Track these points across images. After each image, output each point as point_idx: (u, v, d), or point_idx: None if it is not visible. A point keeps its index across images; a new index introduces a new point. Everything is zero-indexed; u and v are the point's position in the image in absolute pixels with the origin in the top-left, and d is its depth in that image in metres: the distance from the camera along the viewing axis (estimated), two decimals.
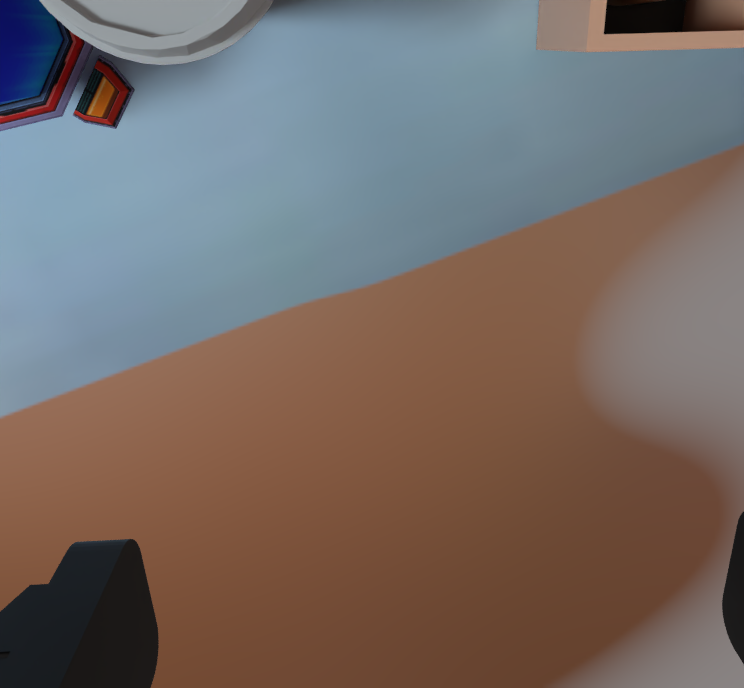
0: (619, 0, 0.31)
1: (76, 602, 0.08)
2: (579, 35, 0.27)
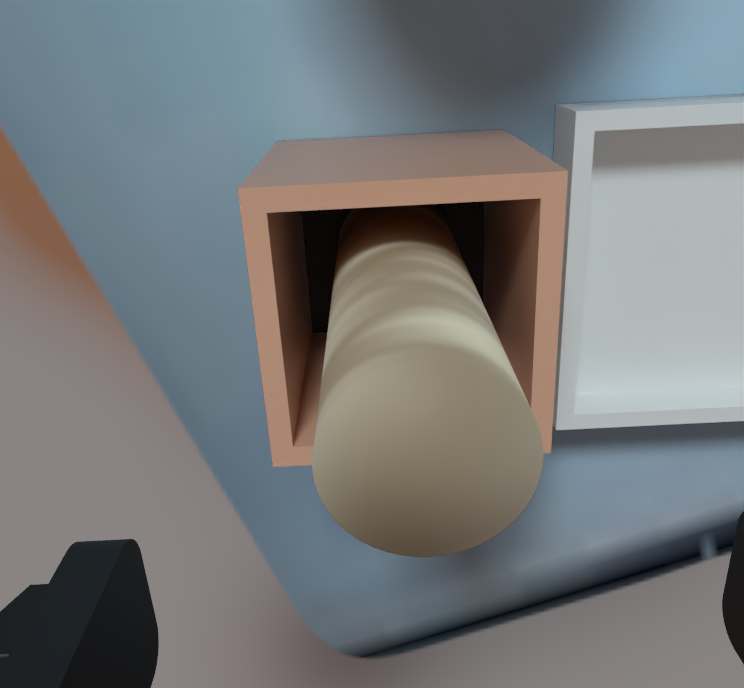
0: (339, 244, 0.22)
1: (76, 602, 0.08)
2: (268, 178, 0.17)
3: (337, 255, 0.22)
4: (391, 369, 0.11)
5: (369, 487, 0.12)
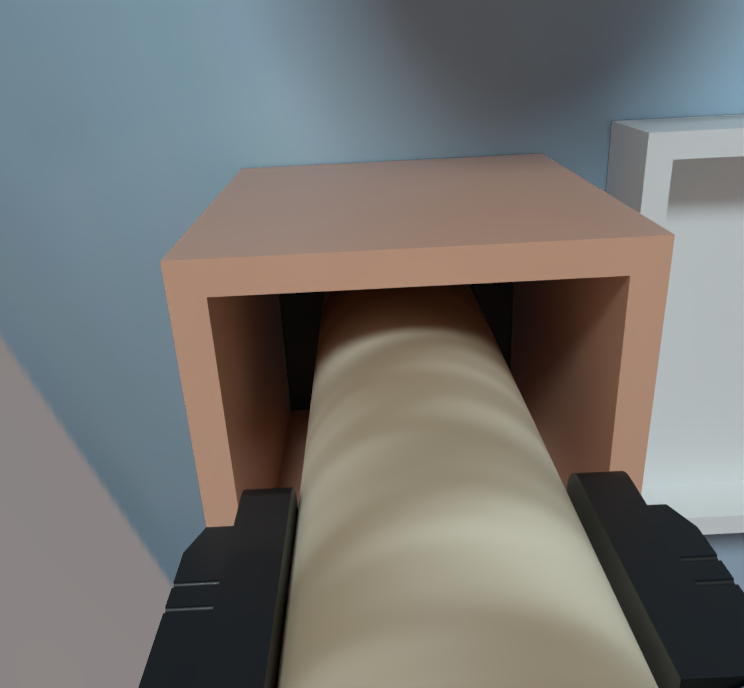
0: (323, 309, 0.17)
1: (265, 536, 0.09)
2: (213, 240, 0.11)
3: (320, 326, 0.16)
4: None
5: None
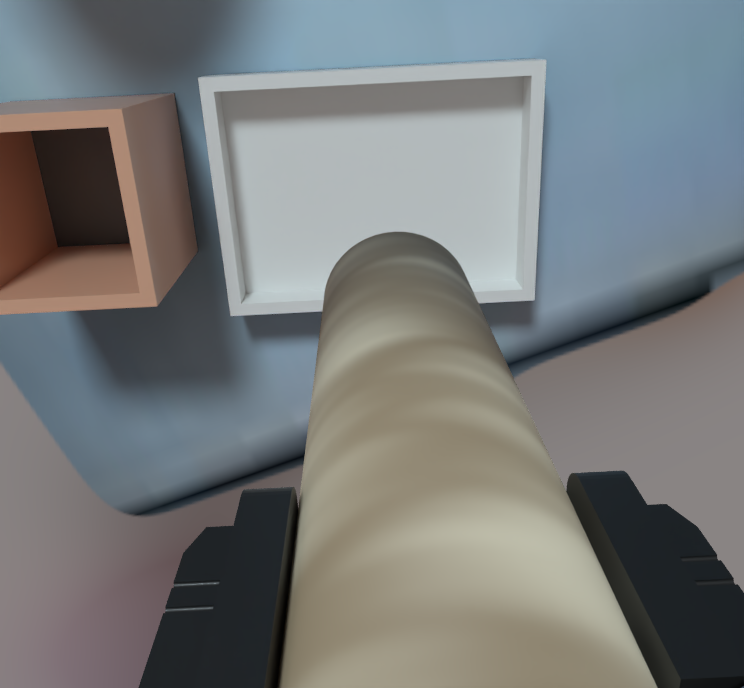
0: (323, 310, 0.17)
1: (265, 537, 0.09)
2: None
3: (321, 327, 0.16)
4: None
5: None
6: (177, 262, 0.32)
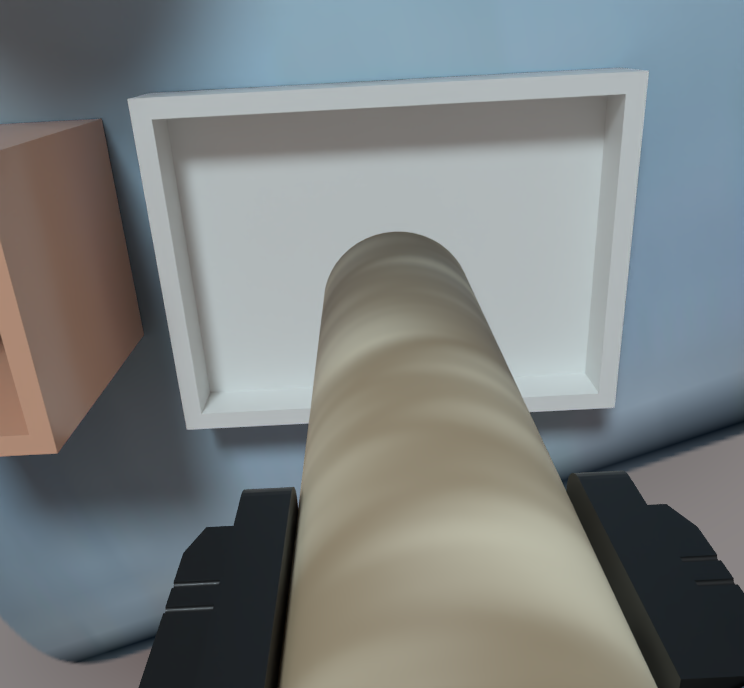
0: (324, 310, 0.17)
1: (265, 536, 0.09)
2: None
3: (321, 327, 0.16)
4: None
5: None
6: (103, 366, 0.22)
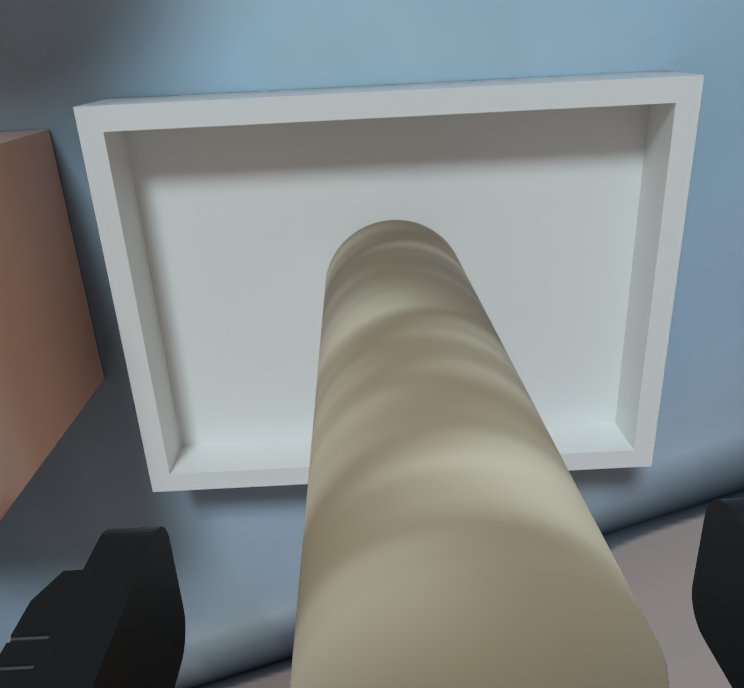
0: (326, 292, 0.18)
1: (112, 586, 0.08)
2: None
3: (324, 307, 0.17)
4: (423, 578, 0.07)
5: None
6: (48, 425, 0.18)
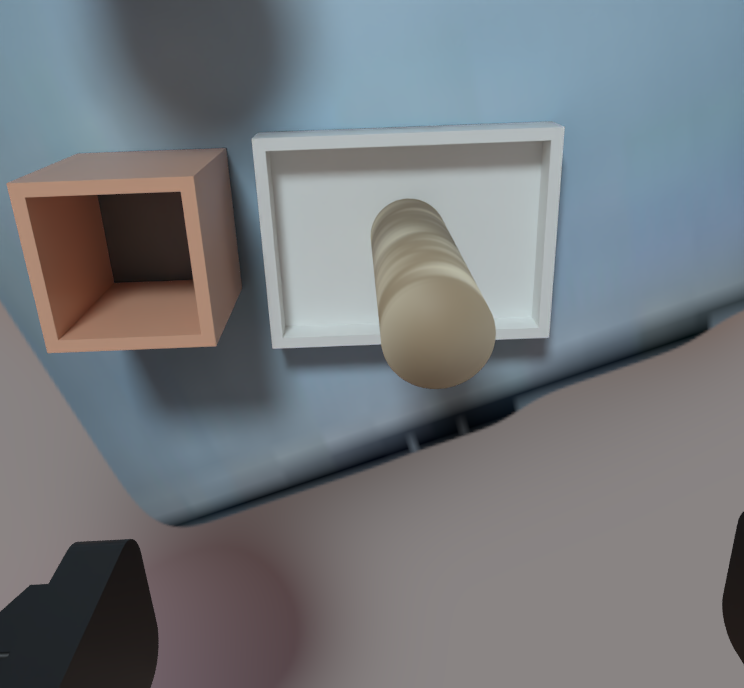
0: (374, 233, 0.35)
1: (76, 602, 0.08)
2: (31, 178, 0.29)
3: (374, 240, 0.34)
4: (422, 286, 0.23)
5: (409, 349, 0.24)
6: (228, 302, 0.35)
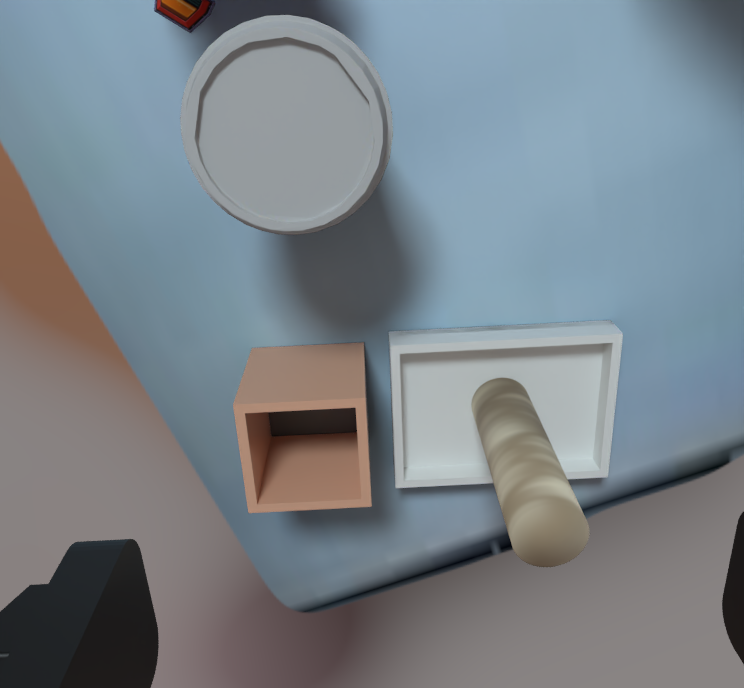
0: (479, 411, 0.46)
1: (76, 602, 0.08)
2: (245, 395, 0.41)
3: (480, 419, 0.45)
4: (541, 507, 0.35)
5: (529, 543, 0.36)
6: None
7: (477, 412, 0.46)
